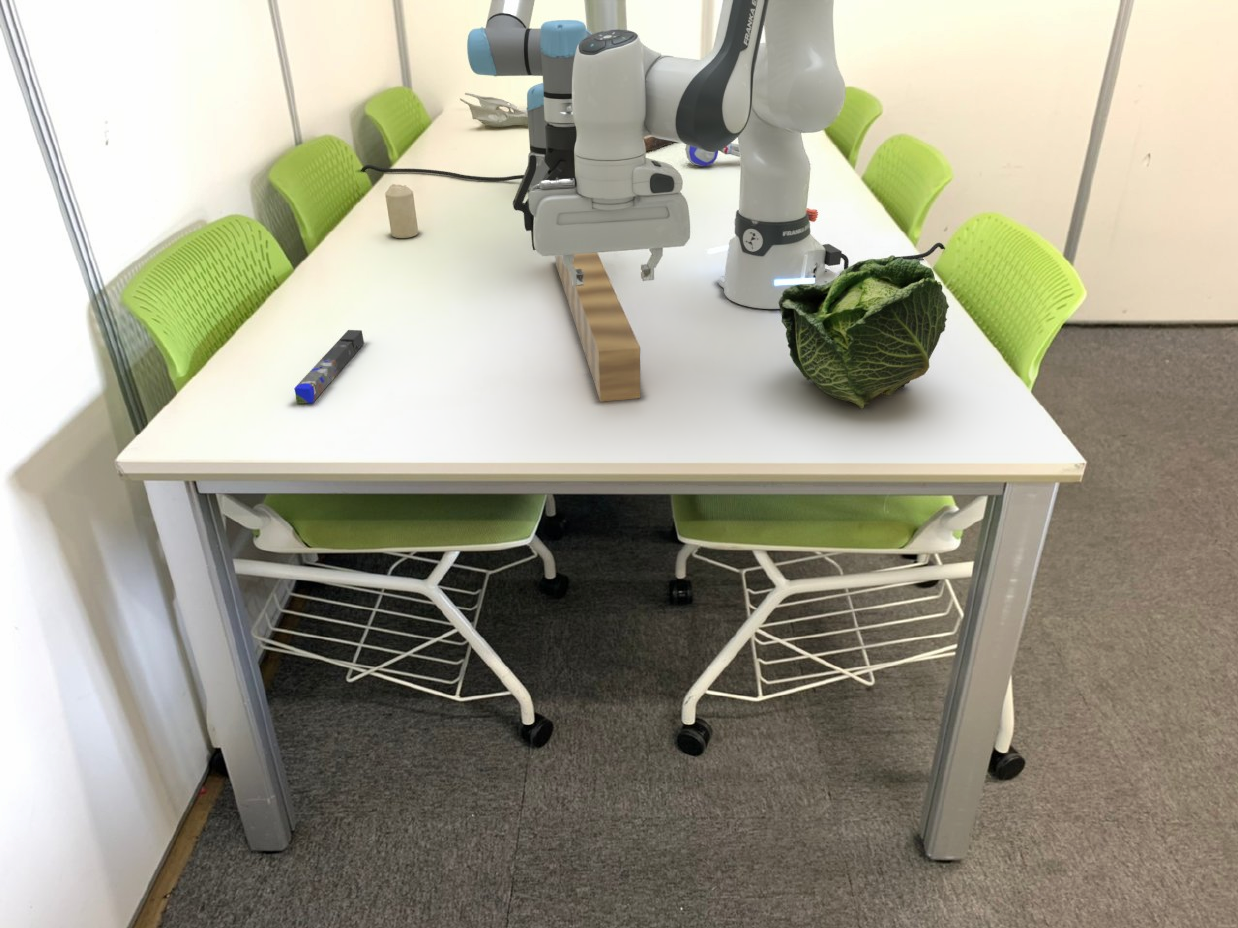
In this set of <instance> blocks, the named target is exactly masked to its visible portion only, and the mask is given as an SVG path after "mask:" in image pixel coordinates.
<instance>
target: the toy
mask: <svg viewBox="0 0 1238 928" xmlns="http://www.w3.org/2000/svg"><path fill="white" fill-rule="evenodd" d="M684 150H685V155H686V158H687V160H688V161H689V162H690V163H691V164H693V165H696V166H699V167H700V166H701V167H707V166H709V165H712V164H714V162H715V161H716V160H717V159H718V155H719V152H721V153H722V154H723V155H731V156H735V157H738V158H740V151H739V144H737V143H733V142H732V143H730V144H729V145H728V146H726V147H725V148H723V149H721V150H719V151H716V152H708V151H705V150H702V149H699V148H695V147H692V146H689V145H686V144H685V149H684Z"/></svg>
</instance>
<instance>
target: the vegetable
mask: <svg viewBox="0 0 1238 928" xmlns="http://www.w3.org/2000/svg"><path fill="white" fill-rule="evenodd" d="M895 257H896V256H895V255H893V254H892V255H890V256H888V257H885V258H886V259H883V258H869V259H865V260H859V261H858V262H856V263H854V264H852V265H850V266H848V268H847V269H845V270H844V269H843V270H842V271H841V272H840V273H839V274H838V275H837V277H836V278H835V279H834V280H833V281H831V282H828V283H826V284H823V285H813V284H807V285H806V284H798V285H795V286H791V287H790V288H788V289H786V290H784V291H783V293H782V295H783V296H782V297H781V298H780V300H779V306H780V309H779V310H780V314H781V315H780V316H781V323H782V325H783V326H784V327H785V329H786V331H785V337H786V340H787V341H786V342H787V343H788V344H787V347H788V348H789V350H790V351H789V356H790V359H791V361H792V362H793V364H794V365H795V366H796V368H797V369H798V371H799V372H800V374H801V375H802V376H803V377H804V378H805V379H806V380H807V381H810V380H811V381H812V382H813V383H814V385H815V386H816V387H817V388H819V390H820V391H822V392H824V393H825V394H827V395H828V396H830V397H832V398H833V399H836V400H841V401H843V402H844V401H845V402H849V403H850V402H851V403H852V404H855V405H857V407H859V408H860V409H862V410H863V409H864V407H865V405H869V402H868V401H869V400H873V399H874V398H875V397H877V396H879V395H880V394H884V395H887V396H892V395H893V394H894V393H895V392H896V391H897V390H898V389H899V388H904V387H905V385H907V384H910V383H911V382H912V381H914V380H916V379H919V378H920V377H922V376H924V375H925V374H926V373H927V372H928V370H929V368H930V359H931V357H932V355H933V353H934V351H935V349H936V347H937V345H938V343H939V341H940V338H941V334H942V333H943V332H945V331H946V321H947V320H948V318H947V313H948V309H949V308H950V305H949V303H948V302H947V300H948V299H947V295H946V294H945V293H944V292H943V285H942V283H941V281H938V280H937V279H936V277H935V273H934V271H933V269H932V267H929V266H927V265H924V264H921V262H920V259H913V260H908V259H903V258H902V257H901V256H900V257H901V258H898V259H896V260H894V258H895Z"/></svg>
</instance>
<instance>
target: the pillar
mask: <svg viewBox="0 0 1238 928" xmlns="http://www.w3.org/2000/svg"><path fill="white" fill-rule="evenodd" d="M364 344H365V339H364V335H363V330H361V329H347V330H346V331H345V333H344V334H343V335H342V336H341V337H340V338H339V339H338V340H337V341H336V342H335V343H334V344H333V346H332V347H331V348H330V349H329V350H328V351H327V352H326V353H325V354H324V355H323V356H322V358H320V360H319V361H318V362H317V363H316V364H315V365H314V366H313V367H312V368H311V369H310V370H309V372H308V373H307V374H306V375H305V376H304V377H303V378H302V379H301V380H300V381H299V382H298V384H296V386H295V387H294V393H295V401H296V404H313V403H314V402H315V401H316V400H317V398H319V396H321V394H322V393H323V392H324V390H326V388H327V387H328V386H329V385H330V384H331V383H332V382H333V380H334V379H335V377H336V376H338V374H339V373H340V372H341V371H342V370H343V368H344V367H345V366H346V365H347V364H348V363H349V361H351V359H352V358H353V357H354V356H355V354H356V353H357V352H358V351H359V350H360V349H361V347H362V346H363V345H364Z"/></svg>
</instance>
